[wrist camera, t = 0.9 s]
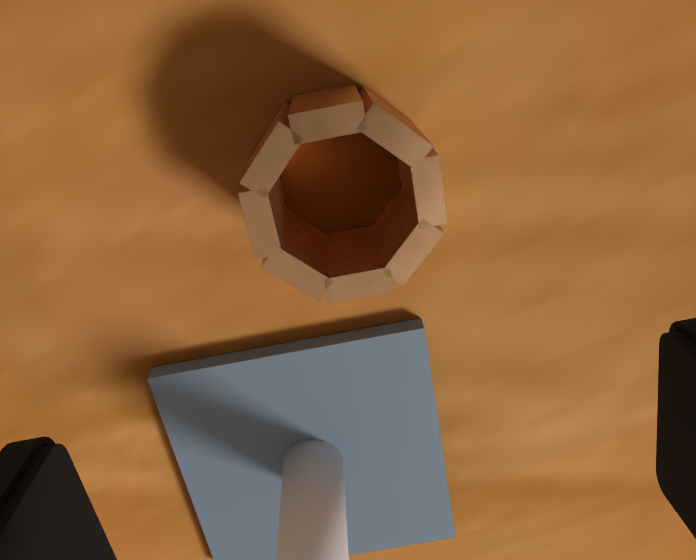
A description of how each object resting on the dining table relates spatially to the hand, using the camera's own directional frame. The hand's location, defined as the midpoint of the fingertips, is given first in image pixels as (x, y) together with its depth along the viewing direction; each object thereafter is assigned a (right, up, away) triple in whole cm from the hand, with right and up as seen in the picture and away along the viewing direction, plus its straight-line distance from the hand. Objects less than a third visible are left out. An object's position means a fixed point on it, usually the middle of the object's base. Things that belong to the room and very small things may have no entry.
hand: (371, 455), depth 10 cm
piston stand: (-2, -6, +22) cm, 23 cm away
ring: (-1, +7, +17) cm, 18 cm away
